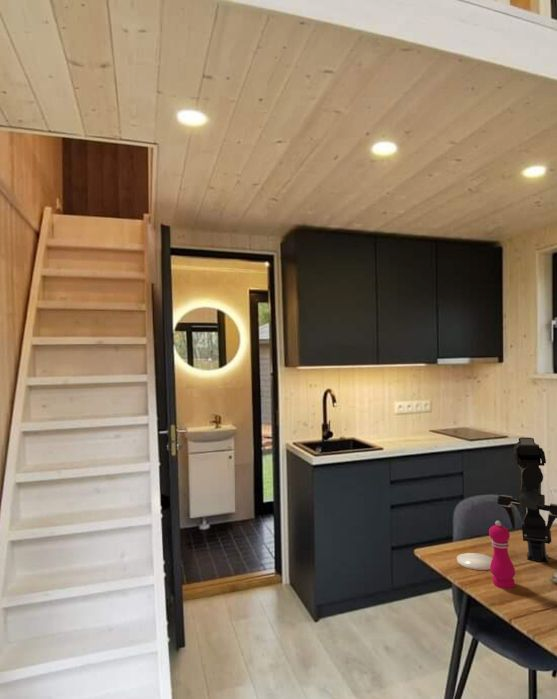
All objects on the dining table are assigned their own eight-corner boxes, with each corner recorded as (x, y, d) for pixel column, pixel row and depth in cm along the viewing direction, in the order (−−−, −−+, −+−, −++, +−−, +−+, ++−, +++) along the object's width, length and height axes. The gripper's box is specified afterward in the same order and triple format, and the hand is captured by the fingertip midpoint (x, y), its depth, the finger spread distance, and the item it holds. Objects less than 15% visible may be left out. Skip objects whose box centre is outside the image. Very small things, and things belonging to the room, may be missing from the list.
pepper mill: (509, 591, 133) (503, 526, 135) (487, 583, 139) (481, 520, 141) (520, 584, 138) (514, 520, 139) (498, 577, 143) (492, 515, 145)
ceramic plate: (460, 552, 164) (460, 550, 164) (497, 558, 158) (497, 556, 158) (454, 566, 153) (453, 563, 153) (494, 572, 147) (494, 570, 147)
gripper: (495, 479, 140) (493, 529, 137) (564, 490, 129) (563, 544, 126) (500, 477, 148) (499, 524, 146) (565, 487, 138) (565, 538, 135)
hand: (530, 532), depth 138 cm, fingers open, 9 cm apart
